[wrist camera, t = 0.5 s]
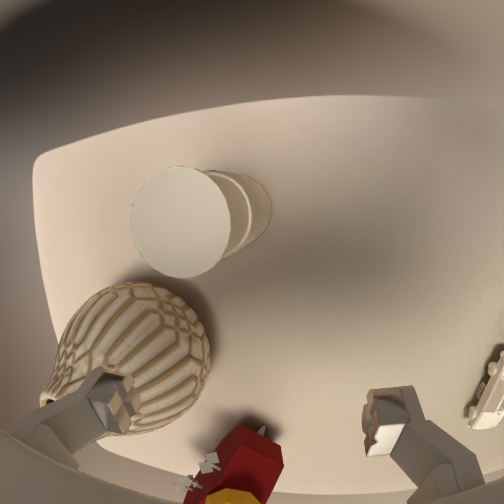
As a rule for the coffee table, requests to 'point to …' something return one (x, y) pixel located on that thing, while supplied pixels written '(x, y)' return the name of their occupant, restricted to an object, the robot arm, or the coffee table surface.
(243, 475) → the alarm clock
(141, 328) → the vase
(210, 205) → the white travel cup
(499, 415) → the toy car
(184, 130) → the coffee table surface
